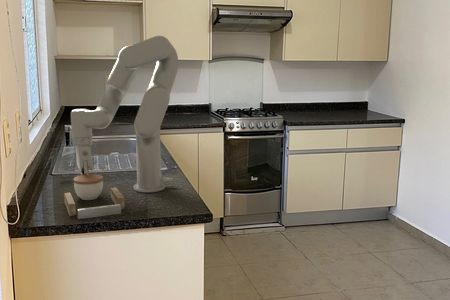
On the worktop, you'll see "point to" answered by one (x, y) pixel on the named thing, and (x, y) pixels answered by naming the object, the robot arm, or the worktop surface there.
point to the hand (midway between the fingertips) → (85, 186)
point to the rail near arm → (117, 197)
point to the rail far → (70, 204)
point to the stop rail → (99, 211)
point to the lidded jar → (88, 186)
